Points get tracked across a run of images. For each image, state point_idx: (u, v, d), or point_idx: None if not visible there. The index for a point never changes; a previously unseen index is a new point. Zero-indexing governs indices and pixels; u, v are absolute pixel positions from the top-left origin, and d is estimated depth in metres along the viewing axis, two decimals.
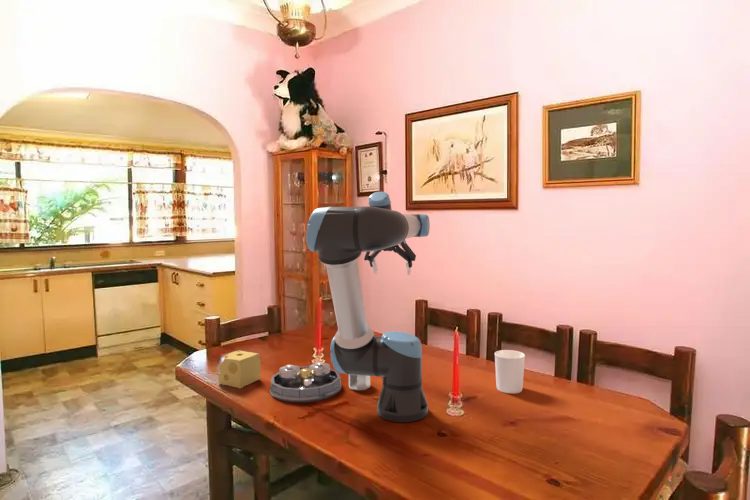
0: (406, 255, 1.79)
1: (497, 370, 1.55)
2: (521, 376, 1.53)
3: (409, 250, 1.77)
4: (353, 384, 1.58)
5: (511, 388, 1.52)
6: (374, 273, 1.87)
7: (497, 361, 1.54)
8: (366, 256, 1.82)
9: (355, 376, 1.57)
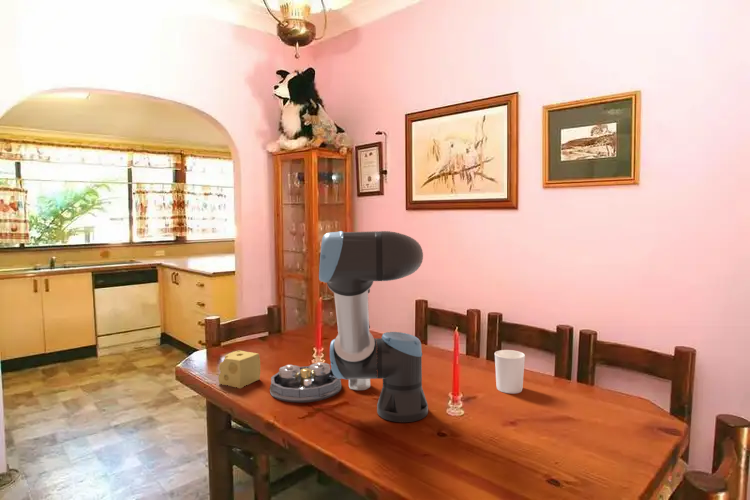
0: None
1: (497, 370, 1.55)
2: (521, 376, 1.53)
3: None
4: (353, 384, 1.58)
5: (511, 388, 1.52)
6: None
7: (497, 361, 1.54)
8: None
9: None
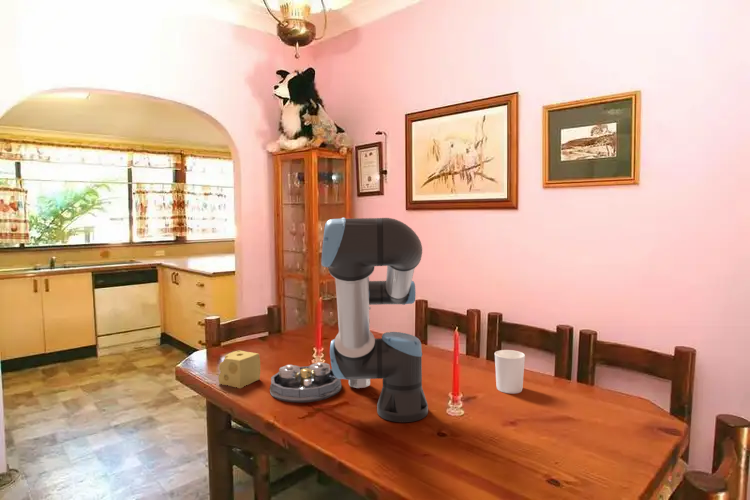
0: None
1: (497, 370, 1.55)
2: (521, 376, 1.53)
3: None
4: (353, 382, 1.57)
5: (511, 388, 1.52)
6: None
7: (497, 361, 1.54)
8: None
9: None
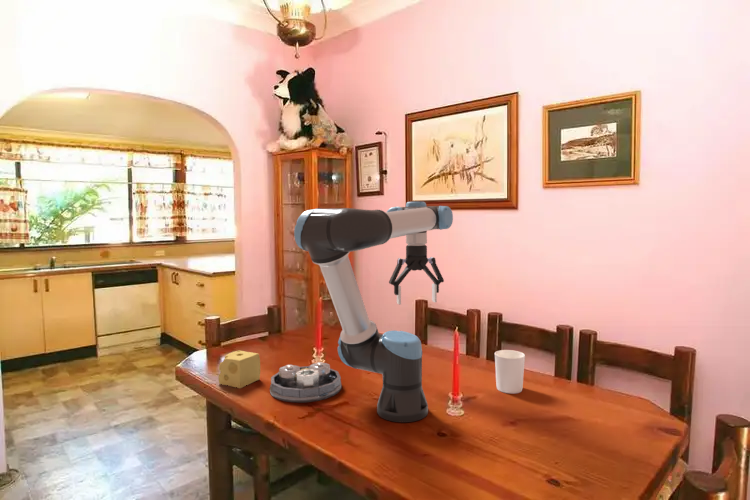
0: None
1: (497, 370, 1.55)
2: (521, 376, 1.53)
3: None
4: None
5: (511, 388, 1.52)
6: (399, 303, 1.67)
7: (497, 361, 1.54)
8: (394, 278, 1.66)
9: (317, 377, 1.52)
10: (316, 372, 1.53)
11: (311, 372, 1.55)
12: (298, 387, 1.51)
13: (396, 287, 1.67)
